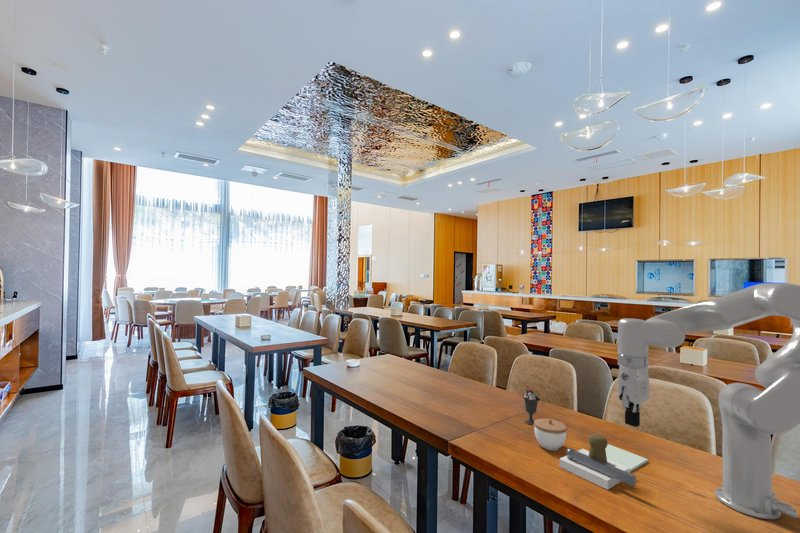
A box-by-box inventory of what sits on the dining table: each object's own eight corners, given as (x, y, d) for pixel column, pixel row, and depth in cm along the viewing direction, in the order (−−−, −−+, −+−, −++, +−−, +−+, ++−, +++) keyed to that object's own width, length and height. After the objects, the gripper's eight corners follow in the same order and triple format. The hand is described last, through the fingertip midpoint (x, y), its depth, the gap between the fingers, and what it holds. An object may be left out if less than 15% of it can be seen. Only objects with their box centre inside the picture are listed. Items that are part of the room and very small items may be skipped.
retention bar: (636, 484, 98) (636, 475, 99) (632, 486, 97) (632, 477, 97) (569, 455, 114) (569, 447, 114) (565, 456, 113) (565, 449, 113)
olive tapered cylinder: (612, 478, 106) (612, 440, 107) (590, 475, 108) (590, 438, 108) (604, 468, 112) (605, 432, 113) (583, 465, 114) (584, 430, 114)
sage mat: (647, 461, 118) (647, 459, 118) (629, 472, 110) (629, 469, 110) (606, 445, 128) (606, 443, 128) (587, 454, 121) (587, 452, 121)
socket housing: (629, 476, 108) (629, 467, 108) (607, 489, 100) (607, 480, 101) (582, 456, 120) (582, 447, 120) (559, 466, 112) (559, 458, 112)
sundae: (518, 420, 150) (519, 384, 151) (532, 418, 152) (532, 383, 153) (528, 426, 144) (529, 388, 144) (542, 424, 146) (543, 387, 146)
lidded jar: (532, 449, 124) (532, 421, 124) (534, 437, 134) (535, 411, 134) (566, 456, 119) (566, 427, 120) (566, 443, 129) (566, 417, 130)
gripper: (635, 366, 98) (634, 435, 97) (658, 361, 106) (657, 424, 105) (606, 361, 104) (606, 425, 103) (630, 356, 112) (629, 415, 112)
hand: (632, 424), depth 104 cm, fingers closed
